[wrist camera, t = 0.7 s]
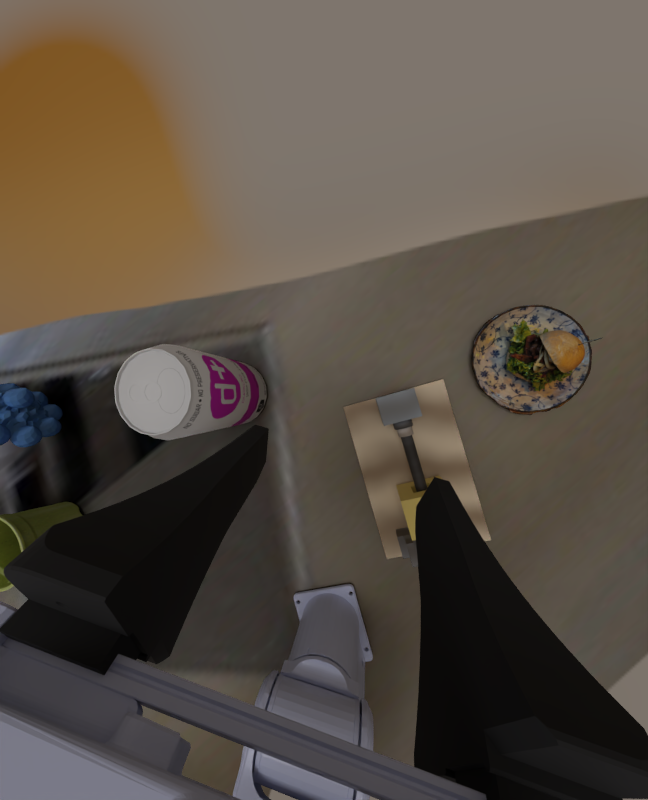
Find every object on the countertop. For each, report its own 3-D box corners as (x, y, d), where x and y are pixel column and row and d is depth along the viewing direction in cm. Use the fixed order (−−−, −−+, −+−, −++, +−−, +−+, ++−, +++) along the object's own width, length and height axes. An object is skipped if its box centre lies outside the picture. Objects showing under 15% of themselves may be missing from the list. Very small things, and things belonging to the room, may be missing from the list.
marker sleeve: (449, 509, 31) (464, 530, 26) (405, 518, 32) (412, 540, 27) (439, 475, 31) (452, 490, 26) (396, 485, 32) (400, 501, 27)
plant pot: (92, 558, 41) (20, 601, 32) (41, 545, 43) (-41, 582, 34) (98, 497, 41) (26, 524, 32) (47, 485, 42) (-35, 508, 34)
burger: (465, 313, 32) (493, 288, 25) (579, 304, 30) (646, 274, 23) (468, 415, 32) (497, 420, 25) (582, 412, 30) (650, 417, 23)
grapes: (100, 414, 40) (-11, 422, 29) (76, 448, 41) (-42, 470, 29) (50, 365, 42) (-76, 353, 30) (27, 399, 43) (-104, 400, 31)
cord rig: (488, 536, 32) (509, 562, 27) (386, 555, 34) (389, 582, 29) (441, 379, 32) (454, 376, 28) (343, 406, 34) (339, 408, 29)
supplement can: (266, 360, 36) (194, 335, 21) (270, 422, 36) (201, 441, 21) (210, 365, 37) (105, 345, 23) (213, 425, 37) (111, 444, 23)
